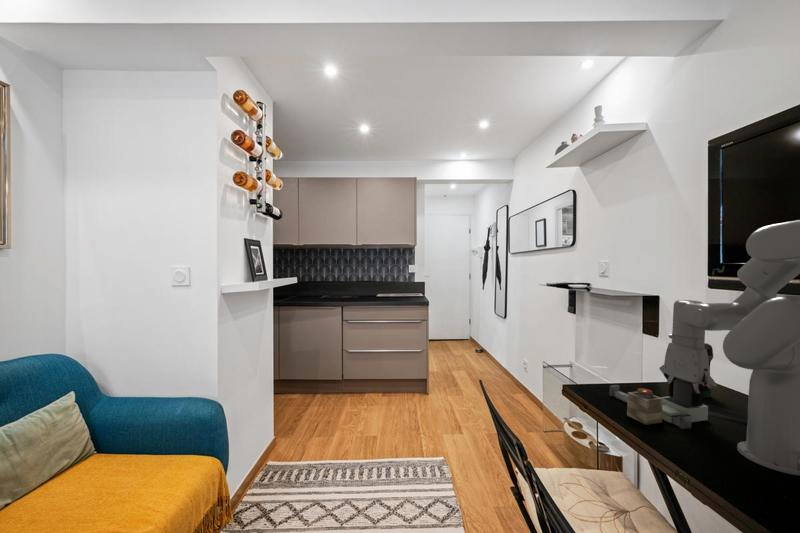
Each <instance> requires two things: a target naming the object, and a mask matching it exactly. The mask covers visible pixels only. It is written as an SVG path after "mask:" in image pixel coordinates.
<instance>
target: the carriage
mask: <svg viewBox="0 0 800 533" xmlns="http://www.w3.org/2000/svg"><path fill="white" fill-rule="evenodd" d="M659 397H660V396H659ZM660 398H662V399H663V405H662V421H666V422H668V423H670V424H673V423H672V417H671V416H674V415H677V416H679V417H680V415H685V414H689V415H692V423H696V422H701V421H702V422H703V421H708V417H709V415H708V406H706V405H703V404H702V406H698V407H692V408H685V407H682V406H680V405H677V404H675V403H673V397H670V396H669V395H668V396H662V397H660ZM664 413H665V414H664ZM666 414H667V415H666ZM668 415H669V416H668Z"/></svg>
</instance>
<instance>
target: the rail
mask: <svg viewBox="0 0 800 533" xmlns="http://www.w3.org/2000/svg"><path fill="white" fill-rule="evenodd" d="M608 396H610V397H613V398H616V399H618V400H620V401H622V402H624V403H627V401H628V393H626V392H623V391H620V385H618V384H612V385H609V394H608ZM664 414H665V413H664ZM666 415H667V414H666ZM668 416H669V415H668ZM671 417H672V423H671V424H673V425H675V426H677V427H679V429H682V430H686V429H692V424H693V422H692V415H689V414H685V415H680V417H679V416H677V415H674V416H671Z"/></svg>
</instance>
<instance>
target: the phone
mask: <svg viewBox="0 0 800 533" xmlns="http://www.w3.org/2000/svg"><path fill="white" fill-rule="evenodd" d="M703 405H706V406H708V416H712V417H715V418H719V419H723V420H726V421H727V420H728V421H731V422H734V423H739V424H742V425H745V426H746V425H747V419H748V413H744V412H741V411H737V410H731V409H729V408H724V407H720V406H717V405H713V404H708V403H704V402H703Z"/></svg>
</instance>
